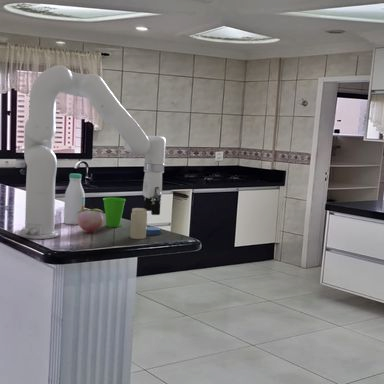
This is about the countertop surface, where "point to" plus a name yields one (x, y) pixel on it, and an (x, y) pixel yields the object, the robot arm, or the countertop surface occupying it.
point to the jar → (138, 223)
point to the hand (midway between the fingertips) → (151, 212)
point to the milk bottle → (73, 199)
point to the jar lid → (153, 231)
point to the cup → (113, 211)
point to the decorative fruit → (90, 219)
